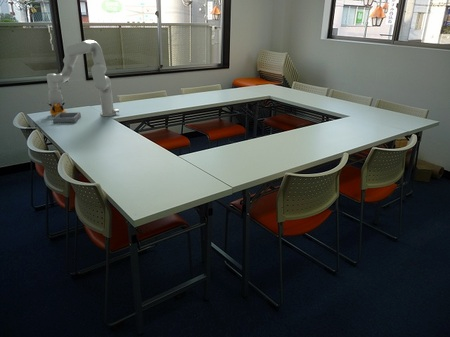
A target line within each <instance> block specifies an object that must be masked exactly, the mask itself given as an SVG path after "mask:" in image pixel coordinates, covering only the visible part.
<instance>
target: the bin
mask: <svg viewBox="0 0 450 337" xmlns="http://www.w3.org/2000/svg"><path fill="white" fill-rule="evenodd" d="M81 118H82V114H81V112H78V111H77V112H75V111H74V112H72V111H71V112H66V113H59V114H57V115H55V116H54V117H53V118H52V123H53V124H77V123H78V121H80V119H81Z"/></svg>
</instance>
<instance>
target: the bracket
mask: <svg viewBox="0 0 450 337" xmlns="http://www.w3.org/2000/svg"><path fill="white" fill-rule="evenodd" d="M53 106H54V109H55V112H54V111H53V109H52V107H51V106H50V111H49V113H50V115H52V116H54V117H55V116H56V115H57V114H59V113H67V111H66V110H65V108H63V111H62V110H61V104H60V103H55V104H54V105H53Z"/></svg>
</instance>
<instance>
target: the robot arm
mask: <svg viewBox="0 0 450 337" xmlns="http://www.w3.org/2000/svg"><path fill="white" fill-rule="evenodd" d="M64 52H65V56H64V58H63V60H62V62H63V64H64V65H63V68H62V70H61V72H60V73H57V74H56V73H54V72H53V73H47V74H46V81H47V87H48V92H47V93H48V100H47V101H46V104H47V105H49V106H50V108H51V107H52V109H53V111H54V112H55V109H54V106H53V105H54V104H55V105H56V104H57V103H60V104H61V110H62V111H63V109H64V107H63V106H64V105H65V104H66V103H67V100H66V99H64V97H63V95H62V94H63V93H62V90H61V89H62V88H61V86H59V84H64V83H65V82H68V81H69V80H70V78H71V75H72V74H73V71H74V68H75V64H76V62H77V60H78V58H79V56H80V55H84V54H87V53H91V56H92V61H93V65H92V66H91V69H90V70H91V75H92V76H91V77H92V79H93V83H94V86H95V88H96V89H97V90H99V99H100V106H101V113H100V116H102V117H112V116H113V117H114V116H115V115H117V113H120V110H119V109H115V107H114V101H113V100H114V99H113V91H112V81H111V79H110V77H109V76H106V73H107V70H108V68H107V64H106V61H105V56H104V52H103V49H102V47H101V45H100V44H99V43H98V42H97V41H95V40H92V39H87V40H83V41H80V42H76V43H73V44H68V45H66V47H65V50H64Z"/></svg>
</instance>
